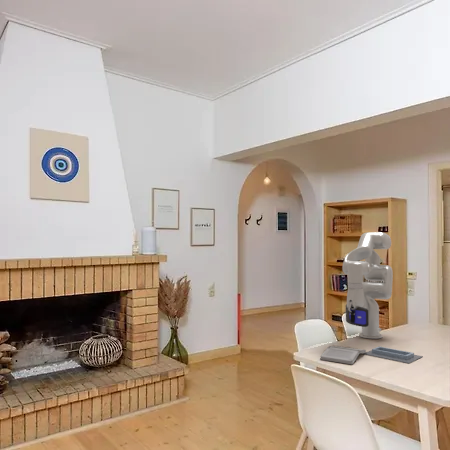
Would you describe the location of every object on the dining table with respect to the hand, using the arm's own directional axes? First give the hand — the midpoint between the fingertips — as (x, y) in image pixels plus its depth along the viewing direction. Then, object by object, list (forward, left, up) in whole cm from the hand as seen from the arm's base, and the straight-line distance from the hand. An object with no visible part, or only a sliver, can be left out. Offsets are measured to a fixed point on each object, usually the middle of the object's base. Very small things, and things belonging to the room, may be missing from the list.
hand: (356, 321), depth 213 cm
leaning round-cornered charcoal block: (-1, 0, -2) cm, 2 cm away
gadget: (+20, +4, -14) cm, 24 cm away
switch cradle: (+1, +19, -14) cm, 24 cm away
